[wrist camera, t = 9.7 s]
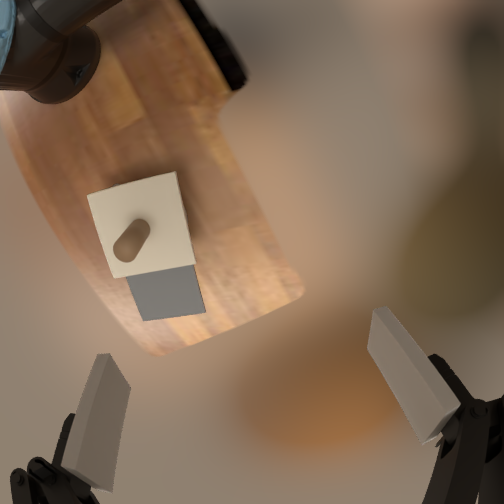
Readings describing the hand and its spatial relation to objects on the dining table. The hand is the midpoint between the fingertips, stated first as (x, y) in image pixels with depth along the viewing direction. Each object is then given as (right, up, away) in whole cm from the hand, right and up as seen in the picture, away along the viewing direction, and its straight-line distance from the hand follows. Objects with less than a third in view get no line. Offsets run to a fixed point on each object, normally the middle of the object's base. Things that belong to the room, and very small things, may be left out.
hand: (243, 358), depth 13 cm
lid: (-15, +8, +24) cm, 29 cm away
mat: (-16, -2, +37) cm, 40 cm away
